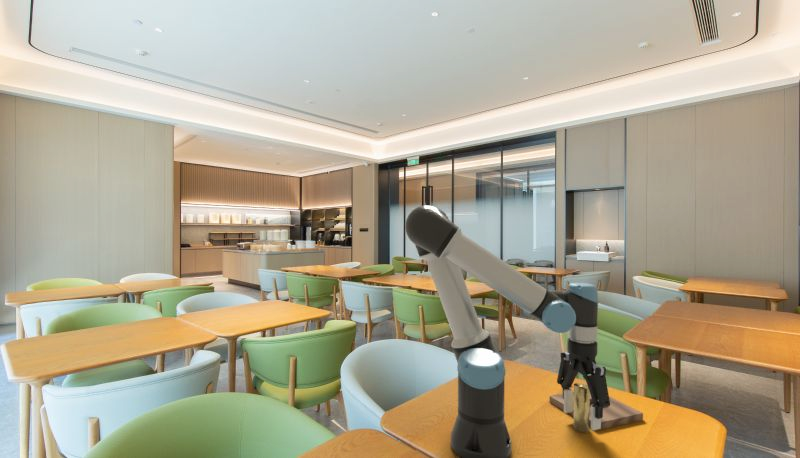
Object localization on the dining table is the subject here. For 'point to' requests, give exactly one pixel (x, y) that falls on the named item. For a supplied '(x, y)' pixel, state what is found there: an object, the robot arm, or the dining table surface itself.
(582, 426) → the pin
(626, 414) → the board
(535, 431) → the dining table surface
